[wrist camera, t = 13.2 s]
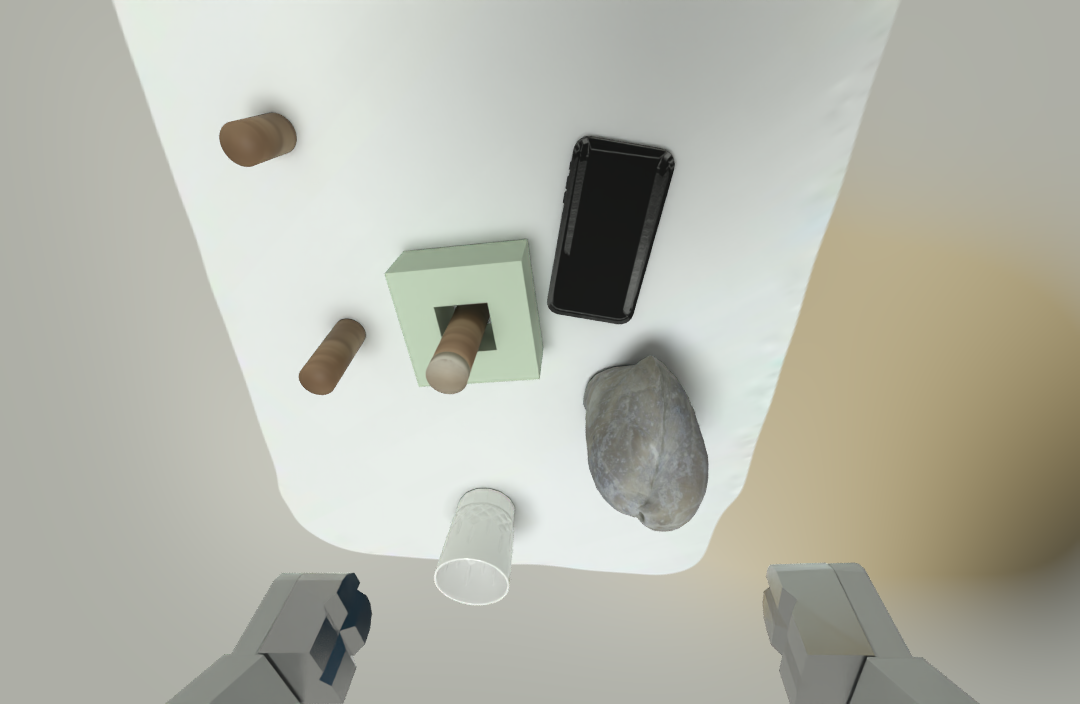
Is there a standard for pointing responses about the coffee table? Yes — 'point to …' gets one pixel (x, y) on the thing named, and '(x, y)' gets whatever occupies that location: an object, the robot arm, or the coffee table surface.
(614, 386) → the decorative stone
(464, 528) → the white cup
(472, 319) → the pin long
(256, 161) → the pin short
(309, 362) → the pin medium
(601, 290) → the phone
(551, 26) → the coffee table surface
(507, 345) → the socket block
